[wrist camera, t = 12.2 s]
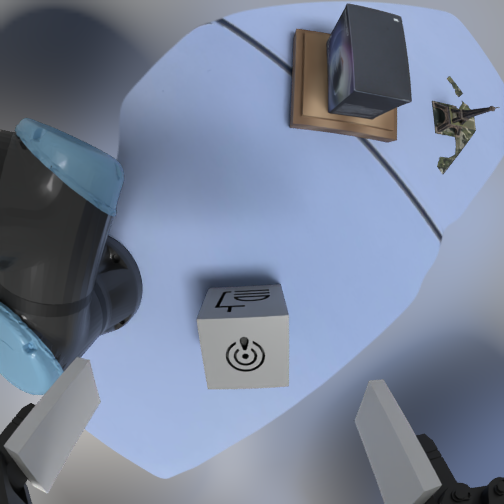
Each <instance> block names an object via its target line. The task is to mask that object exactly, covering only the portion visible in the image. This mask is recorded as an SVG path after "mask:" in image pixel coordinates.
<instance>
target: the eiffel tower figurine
mask: <svg viewBox="0 0 504 504" xmlns="http://www.w3.org/2000/svg"><path fill="white" fill-rule="evenodd" d="M447 80H448V81H449V82H450V83H451V84H452V86H453V88H454V89H455V93H456V95H457V96H458V97H460V96H461V95H462V94H463V93H462V92H461V90H460V89H459V87H458V86H457V85H456V83H455V82H454V81H453V80H452V78H451V77H450V76H449V77H448V78H447ZM432 107H433V115H434V124H435V133H437V134H442V135H448V136H453V137H455V140H456V152H455V155H453V156H452V157H450V158H445V157H440V159H439V162H438V166H437V167H438V168H439V170H440V171H441V172H442V174H444V173H445V171H446V170H447V169H448V168H449V166H450V165H451V164H452V162H453V161H454V160H455V158H456V157H457V156H458V155H459V153H460V152H461V151H462V149H463V148H464V147H465V145H466V144H467V143H468V141H469V140H470V138H471V137H472V136H473V134H474V133H475V131H476V128H475V120H474V116H477V115H480V114H483V113H486V112H489V111H495V107H493V106H490V107H488V108H481V109H473V110H471V109H470V108H469V107H468V105H466V104H464V102H463V101H462V105H461V106H460V108H459V109H457V108H456V106H453V105H449V104H444V103H440V102H436V101H432ZM496 108H499V107H496Z"/></svg>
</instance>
